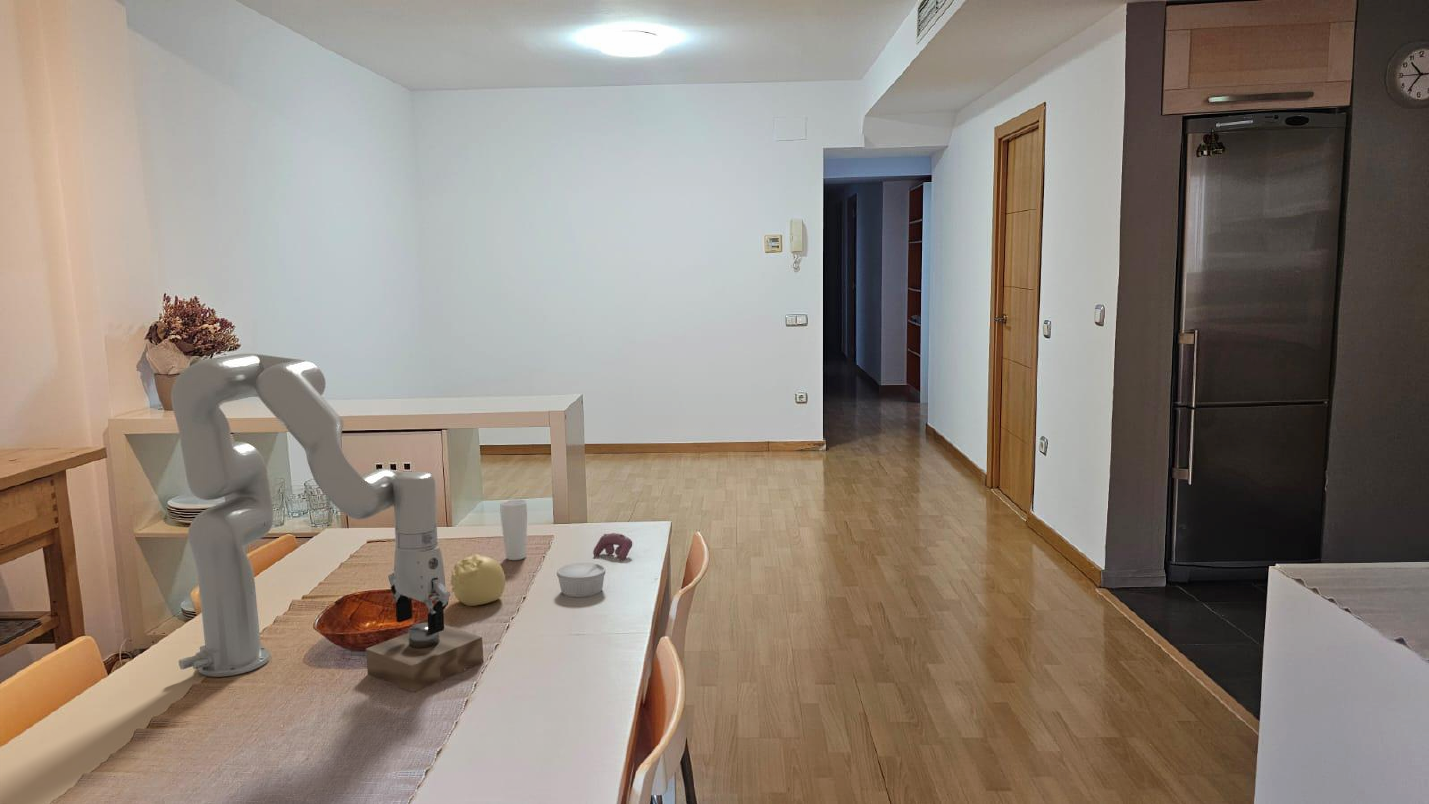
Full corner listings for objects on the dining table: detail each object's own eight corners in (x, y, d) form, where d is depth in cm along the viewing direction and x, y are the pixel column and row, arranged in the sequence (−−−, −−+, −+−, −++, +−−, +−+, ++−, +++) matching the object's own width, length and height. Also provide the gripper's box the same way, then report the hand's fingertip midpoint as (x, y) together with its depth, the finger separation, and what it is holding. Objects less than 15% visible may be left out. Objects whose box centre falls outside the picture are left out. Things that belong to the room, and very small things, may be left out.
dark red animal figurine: (630, 563, 247) (636, 537, 249) (620, 560, 244) (627, 533, 245) (600, 558, 252) (606, 532, 254) (590, 555, 249) (597, 528, 250)
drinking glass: (501, 555, 251) (498, 500, 249) (527, 553, 253) (524, 498, 251) (504, 563, 245) (501, 506, 243) (530, 560, 247) (527, 504, 245)
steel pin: (422, 674, 177) (420, 635, 176) (404, 667, 180) (401, 629, 179) (447, 663, 181) (444, 626, 180) (429, 657, 185) (426, 620, 184)
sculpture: (449, 597, 220) (447, 552, 219) (502, 589, 224) (499, 545, 223) (454, 613, 210) (451, 566, 208) (509, 605, 214) (507, 559, 212)
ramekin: (611, 595, 219) (610, 573, 218) (563, 602, 215) (562, 580, 214) (599, 580, 230) (598, 559, 229) (553, 587, 226) (552, 566, 225)
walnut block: (413, 692, 170) (411, 666, 170) (367, 674, 179) (365, 648, 178) (483, 662, 183) (482, 637, 182) (438, 646, 191) (436, 622, 191)
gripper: (462, 542, 175) (465, 630, 178) (405, 526, 185) (409, 610, 188) (428, 551, 169) (432, 643, 172) (371, 535, 179) (375, 621, 182)
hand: (420, 626), depth 180 cm, fingers open, 9 cm apart
